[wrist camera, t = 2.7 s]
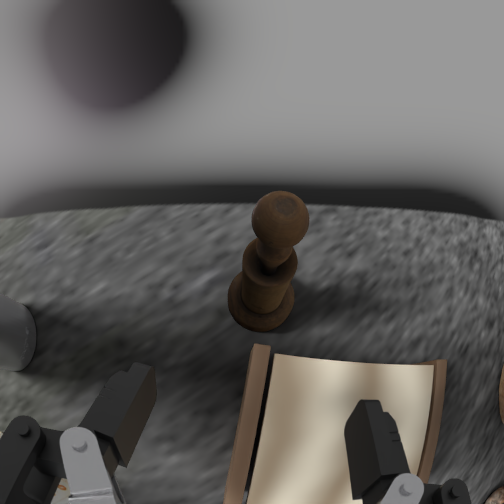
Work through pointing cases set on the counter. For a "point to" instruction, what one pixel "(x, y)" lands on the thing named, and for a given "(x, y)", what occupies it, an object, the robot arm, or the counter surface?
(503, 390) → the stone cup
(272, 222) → the brown wooden pepper mill
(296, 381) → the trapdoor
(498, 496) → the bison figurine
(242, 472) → the brown upright panels
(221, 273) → the counter surface
